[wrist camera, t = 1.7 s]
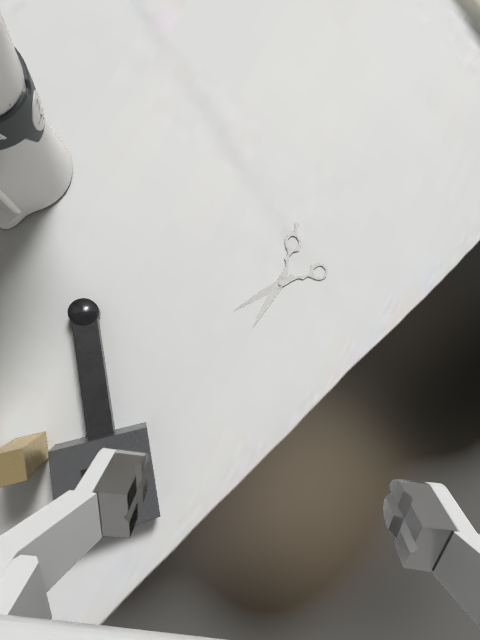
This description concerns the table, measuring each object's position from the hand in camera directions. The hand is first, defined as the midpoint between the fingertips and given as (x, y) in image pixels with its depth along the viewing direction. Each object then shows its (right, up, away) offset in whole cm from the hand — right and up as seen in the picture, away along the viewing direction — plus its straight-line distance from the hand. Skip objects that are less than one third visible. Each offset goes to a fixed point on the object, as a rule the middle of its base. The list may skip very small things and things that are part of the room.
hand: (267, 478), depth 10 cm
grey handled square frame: (-20, -6, +30) cm, 37 cm away
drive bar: (-27, -10, +27) cm, 40 cm away
